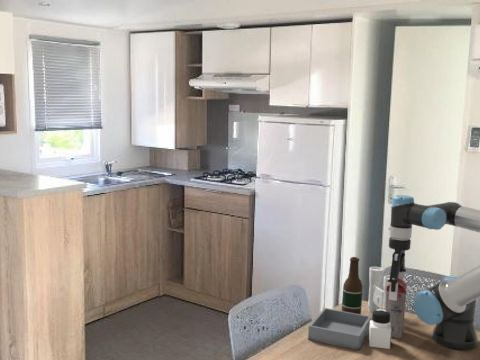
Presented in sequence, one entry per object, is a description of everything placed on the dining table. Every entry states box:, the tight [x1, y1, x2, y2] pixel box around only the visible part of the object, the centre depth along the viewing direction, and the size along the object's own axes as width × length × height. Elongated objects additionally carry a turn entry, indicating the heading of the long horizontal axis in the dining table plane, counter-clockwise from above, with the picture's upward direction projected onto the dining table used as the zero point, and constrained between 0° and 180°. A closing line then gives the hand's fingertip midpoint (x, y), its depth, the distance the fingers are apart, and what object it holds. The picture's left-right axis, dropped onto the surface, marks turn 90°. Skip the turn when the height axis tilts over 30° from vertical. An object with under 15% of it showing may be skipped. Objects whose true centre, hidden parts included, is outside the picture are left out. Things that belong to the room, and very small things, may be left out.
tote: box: [307, 307, 372, 351], centre depth 200 cm, size 18×20×5 cm
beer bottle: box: [341, 256, 364, 315], centre depth 217 cm, size 8×8×24 cm
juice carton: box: [385, 278, 408, 339], centre depth 201 cm, size 7×7×22 cm
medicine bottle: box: [368, 309, 392, 350], centre depth 192 cm, size 7×7×12 cm
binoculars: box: [367, 266, 394, 314], centre depth 218 cm, size 17×5×18 cm, turn 14°
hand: (395, 294), depth 201 cm, fingers open, 13 cm apart
